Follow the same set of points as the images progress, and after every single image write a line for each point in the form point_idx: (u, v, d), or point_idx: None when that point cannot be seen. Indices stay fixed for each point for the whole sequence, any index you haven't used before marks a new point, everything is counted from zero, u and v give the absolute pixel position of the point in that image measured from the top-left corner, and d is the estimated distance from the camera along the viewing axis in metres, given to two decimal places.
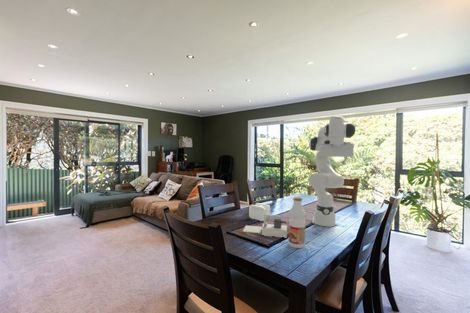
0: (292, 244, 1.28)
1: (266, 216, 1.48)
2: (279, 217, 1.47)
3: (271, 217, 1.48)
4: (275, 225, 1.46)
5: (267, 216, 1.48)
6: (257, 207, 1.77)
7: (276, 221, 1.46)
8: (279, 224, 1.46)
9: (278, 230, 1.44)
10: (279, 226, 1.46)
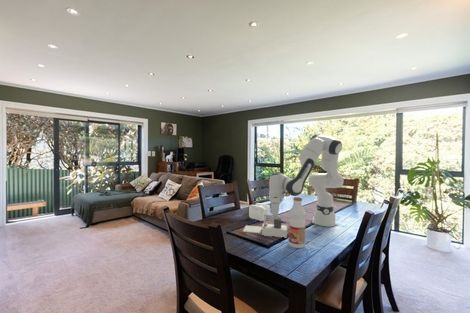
0: (292, 244, 1.28)
1: (266, 216, 1.48)
2: (279, 217, 1.47)
3: (271, 217, 1.48)
4: (275, 225, 1.46)
5: (267, 216, 1.48)
6: (257, 207, 1.77)
7: (276, 221, 1.46)
8: (279, 224, 1.46)
9: (278, 230, 1.44)
10: (279, 226, 1.46)
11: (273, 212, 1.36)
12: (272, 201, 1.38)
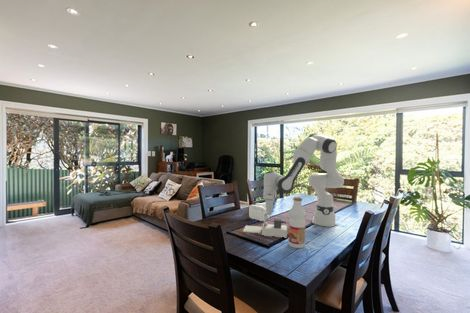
0: (292, 244, 1.28)
1: None
2: None
3: (268, 215, 1.53)
4: (275, 225, 1.46)
5: (267, 215, 1.51)
6: (257, 207, 1.77)
7: (276, 221, 1.46)
8: (279, 224, 1.46)
9: (278, 230, 1.44)
10: (279, 226, 1.46)
11: (267, 208, 1.45)
12: (266, 198, 1.46)
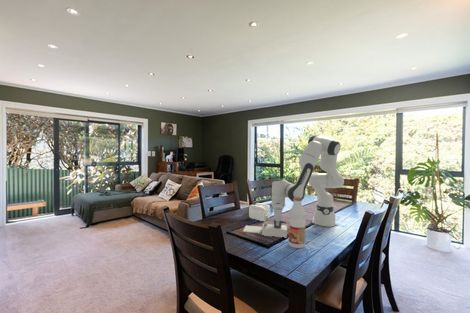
0: (292, 244, 1.28)
1: None
2: (267, 212, 1.58)
3: (267, 215, 1.53)
4: (275, 225, 1.46)
5: (267, 215, 1.51)
6: (257, 207, 1.77)
7: None
8: (279, 224, 1.46)
9: (278, 230, 1.44)
10: (279, 226, 1.46)
11: (276, 218, 1.38)
12: (275, 207, 1.40)
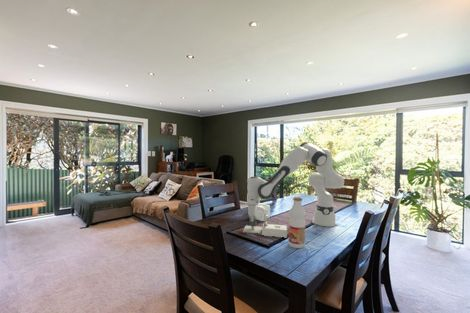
0: (292, 244, 1.28)
1: None
2: (267, 212, 1.58)
3: (267, 215, 1.53)
4: (250, 223, 1.54)
5: (267, 215, 1.51)
6: (257, 207, 1.77)
7: None
8: (253, 222, 1.53)
9: (278, 230, 1.44)
10: (254, 224, 1.53)
11: (249, 213, 1.46)
12: (249, 203, 1.47)
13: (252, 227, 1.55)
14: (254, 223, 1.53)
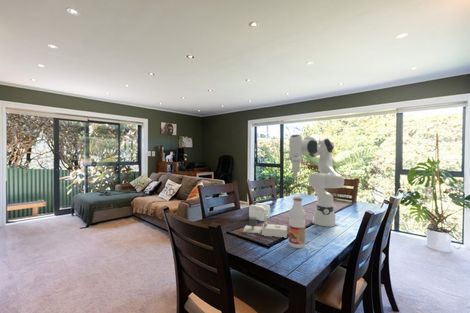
0: (292, 244, 1.28)
1: None
2: (267, 212, 1.58)
3: (267, 215, 1.53)
4: (250, 223, 1.54)
5: (267, 215, 1.51)
6: (257, 207, 1.77)
7: (251, 219, 1.53)
8: (253, 222, 1.53)
9: (278, 230, 1.44)
10: (254, 224, 1.53)
11: (294, 169, 1.45)
12: (293, 159, 1.46)
13: (252, 227, 1.55)
14: (254, 223, 1.53)
